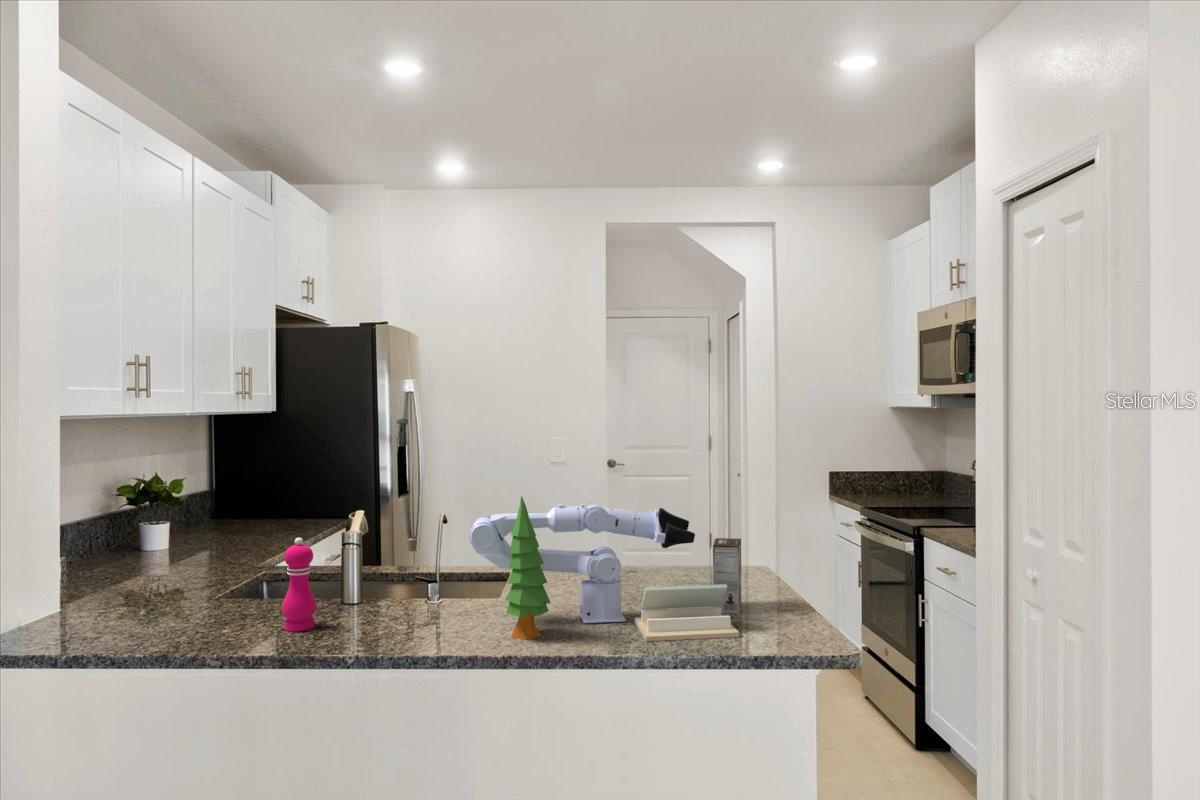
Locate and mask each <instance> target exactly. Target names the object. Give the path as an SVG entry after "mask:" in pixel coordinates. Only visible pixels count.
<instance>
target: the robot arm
mask: <svg viewBox="0 0 1200 800" xmlns="http://www.w3.org/2000/svg"><path fill="white" fill-rule="evenodd" d="M517 515H518V512H517V513H515V512H514V513H513V512H512V513H508V512H507V513H496V514H491V515H490V516H488V515H481V516H478V517H477V518H476V519H475V520H474V521H473V522H472V523H471V529H470V531H469V533H468V539H469V543H470V544H471V547H473V549H474V551H475V552H476V554H478V555H480V556H482V557H484V558H485V559H486V560H487V561H489V562H490V563H491V564H493V565H494V566H496V567H497V568H499V569H503V570H513V568H510V563H511V559H512V554H509V552H510V547H511V544H509V542H508V541H507V540H506V539H505V537H506V536H508V535H510V534H511V533H512V530H513V527H514V525H515V522H516V519H517ZM528 515H529V519H530V522H531V524H532V527H533V529H545V528H548V529H550V530H551V531H552V532H553V533H567V532H568V533H573V532H583V531H584V530H588V531H589V532H591V533H593V534H600V533H602V532H605V533H611V534H615V535H616V534H617V535H623V536H631V537H636V538H637V537H638V538H645V539H650V540H652V541H654V542H655V543H658V544H659V543H660V545H661V548H662V549H668V548H670V547H673V546H676V545H682V544H691V543H695V537H696V534H695V532H693V531H690V530H688V529H689V526H690V521H689V520H688V519H685V518H682V517H679V516H677V515H674V514H672V513H671V512H668V511H667V510H666V509H664V508H662V507H659V509H658V508H655V509H654V511H650V510H649V511H648V512H645V511H644V512H643V511H638V510H637V511H636V510H631V509H625V508H624V509H622V508H613V507H604V508H603V507H602V506H601V505H600V504H596V503H589V502H588V504H587V503H586V504H585V503H580V505H576V506H571V505H570V506H565V504H563V503H561V504H560V503H559V504H558V505H557V506H554V507H551V509H550V510H549V511H548V512H541V513H540V512H537V513H536V512H534V513H531V512H528ZM537 549H538V551H539V553H540V556H541V558H542V560H543V562H544V563H543V564H541V565H540V566H541V569H542V571H543V572H552V573H553V572H555V573H556V572H557V573H571V574H580V575H583V576H585V577H588V578H589V579H587V580H584V579H583V580H581V581H580V583H579V584H580V587H579V593H580V594H579V600H580V601H579V615H580V617H581V620H582V622H583V624H601V623H605V624H606V623H622V622H626V617H625V616H624V615H623V613H622V576H621V572H622V563H621V560H620V559H619V558H618V557H617V553H616V552H615V551H614V549H612V548H611V547H608V546H604V545H603V546H599V547H597V548H594V549H582V550H569V549H568V550H566V549H549V548H537Z"/></svg>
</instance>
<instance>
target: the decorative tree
mask: <svg viewBox="0 0 1200 800" xmlns="http://www.w3.org/2000/svg"><path fill="white" fill-rule="evenodd" d="M517 513H518V515H517V519H516V522H515V525H514V527H513V530H512V532H510V536H512V537H511V538H512V539H511V543H510V546H511V547H510V552H509V554H512V559H511V563H510V568H513V569H511V573H510V575H509V578H508V580H507V583H506V585H511V587H510V589H509V591H508V593H507V595H506V598H505V601H507V602H509V604H508V606H507V609H506V612H505V613H506V615H507V614H508V615H511V616H514V617H518V619H517V622H516V624H515V625H514V628H513V631H512V634H511V638H514V639H522V640H533V639H535V638H540V637H542V634H541V633H540V631H539V630H538V628H537V627H536V624H535V623H536V622H535V617H539V616H542V615H544V614H545V613H548V612H549V608H548V606H547V604H550V603H551V600H550V598H549V596H548V594H547V591H546V589H545V586H544V584H546V583H548V581H547V578H546V575H545V574H544V571H542V569H541V566H540V565H541V564H543V563H544V562H543V560H542V558H541V556H540V553H539V551H538V549H539V547H540V544H539V542H538V540H537V534H536V532H535V528H533V527H532V524H531V522H530V519H529V515H528V513H529V512H528V508H527V505H526V503H525V501H524V498H523V496H522V494H521V495H520V501H519V508H518V511H517Z"/></svg>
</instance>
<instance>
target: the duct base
mask: <svg viewBox="0 0 1200 800" xmlns="http://www.w3.org/2000/svg"><path fill="white" fill-rule="evenodd" d="M640 611H641V613H640V616H639V617H634V620H633V621H634V624H635V625H636V627H637V629H638V628H639V629H638V631H639V632H640V633H641V635H642V637H643V639H644V640H645V641H646V642H664V641H665V640H666V641H684V640H686V639H688V640H704V639H705V640H706V639H708V640H709V639H726V638H728V639H729V638H740V631H739V630H738V629H737V628H736V627H734V625H732V623H731V616H730V615H723V614H722V613H721V607H693V608H669V609H645V610H640Z"/></svg>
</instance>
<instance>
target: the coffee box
mask: <svg viewBox="0 0 1200 800" xmlns="http://www.w3.org/2000/svg"><path fill="white" fill-rule="evenodd" d="M720 584H727V590H726V592H725V595H724V597H723V600H722V603H721V605H720V606H717V607H721V614H735V613H736V614H738V615H739V614H740V612H741V607H742V538H727V537H725V538H724V537H723V538H719V537H717V538H715V539H714V541H713V544H712V585H720Z"/></svg>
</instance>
